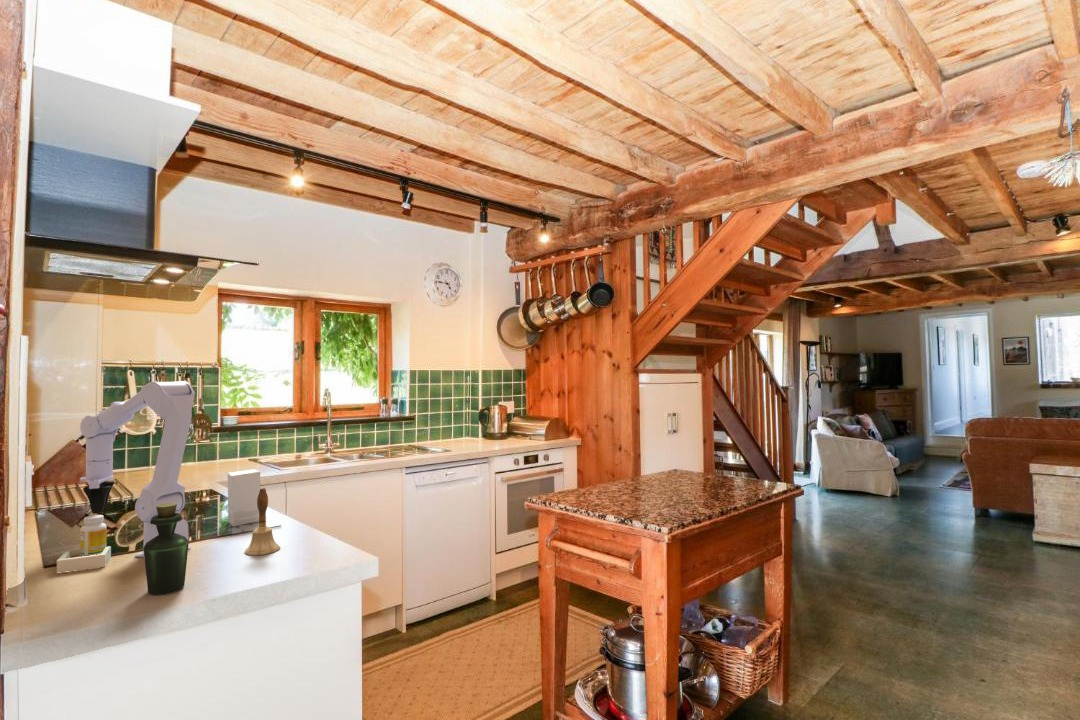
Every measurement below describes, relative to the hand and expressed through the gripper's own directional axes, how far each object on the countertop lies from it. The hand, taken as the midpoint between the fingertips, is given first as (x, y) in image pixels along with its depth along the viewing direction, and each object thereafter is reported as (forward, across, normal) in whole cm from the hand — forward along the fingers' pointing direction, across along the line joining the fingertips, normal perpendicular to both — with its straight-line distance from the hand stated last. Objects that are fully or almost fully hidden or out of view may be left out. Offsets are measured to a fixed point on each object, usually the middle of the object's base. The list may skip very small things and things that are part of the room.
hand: (99, 511), depth 152 cm
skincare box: (+10, -8, +35) cm, 37 cm away
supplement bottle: (+10, +8, 0) cm, 12 cm away
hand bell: (+10, +26, +38) cm, 47 cm away
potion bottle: (+10, +45, +18) cm, 50 cm away
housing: (+9, +18, 0) cm, 20 cm away
